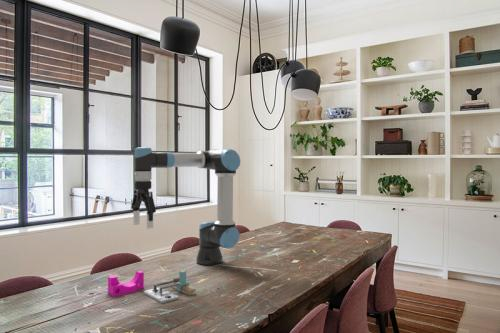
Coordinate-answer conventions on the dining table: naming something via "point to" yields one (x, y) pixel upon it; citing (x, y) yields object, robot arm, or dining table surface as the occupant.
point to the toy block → (125, 284)
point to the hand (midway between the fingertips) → (143, 226)
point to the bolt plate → (161, 295)
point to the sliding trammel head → (181, 282)
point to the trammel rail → (184, 289)
